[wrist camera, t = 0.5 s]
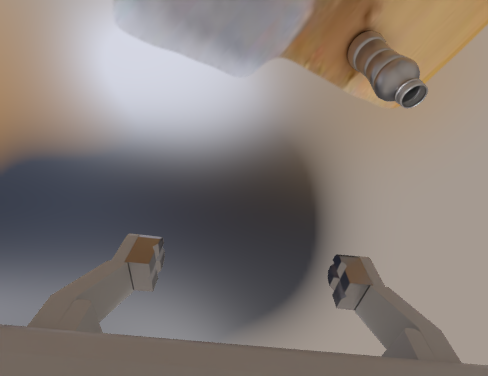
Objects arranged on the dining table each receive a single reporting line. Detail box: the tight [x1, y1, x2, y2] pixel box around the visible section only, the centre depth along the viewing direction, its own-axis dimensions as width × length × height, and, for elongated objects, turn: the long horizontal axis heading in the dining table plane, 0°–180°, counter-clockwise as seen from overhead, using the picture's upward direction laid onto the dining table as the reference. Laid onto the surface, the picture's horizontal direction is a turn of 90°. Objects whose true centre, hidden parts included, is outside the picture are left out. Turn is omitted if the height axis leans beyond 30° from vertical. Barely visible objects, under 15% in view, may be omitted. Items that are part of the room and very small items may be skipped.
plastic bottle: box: [348, 31, 428, 108], centre depth 42 cm, size 6×7×20 cm
